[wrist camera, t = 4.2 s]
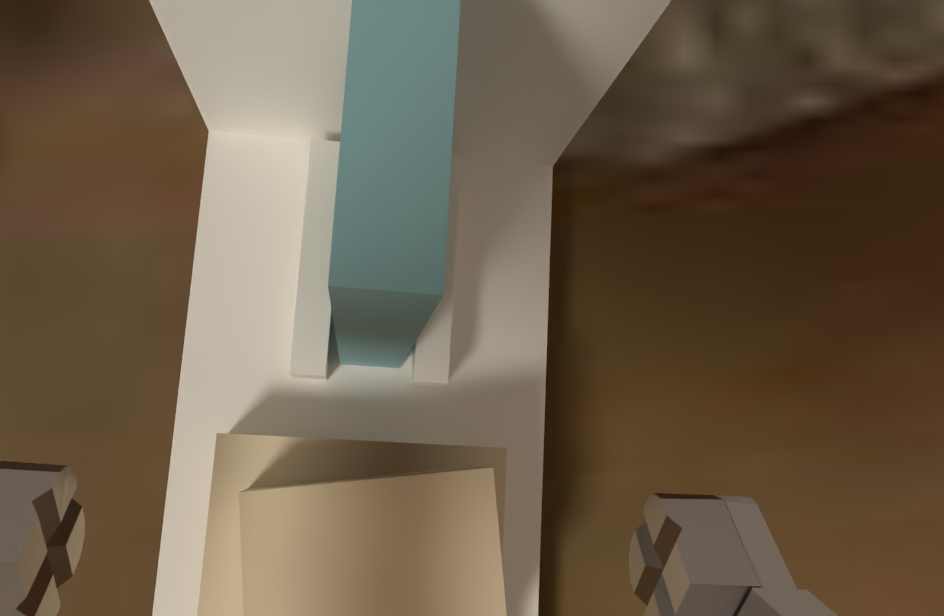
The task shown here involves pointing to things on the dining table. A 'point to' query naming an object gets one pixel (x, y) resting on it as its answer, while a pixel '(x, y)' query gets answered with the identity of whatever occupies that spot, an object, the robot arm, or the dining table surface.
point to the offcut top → (374, 546)
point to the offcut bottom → (302, 462)
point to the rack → (310, 236)
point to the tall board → (393, 177)
